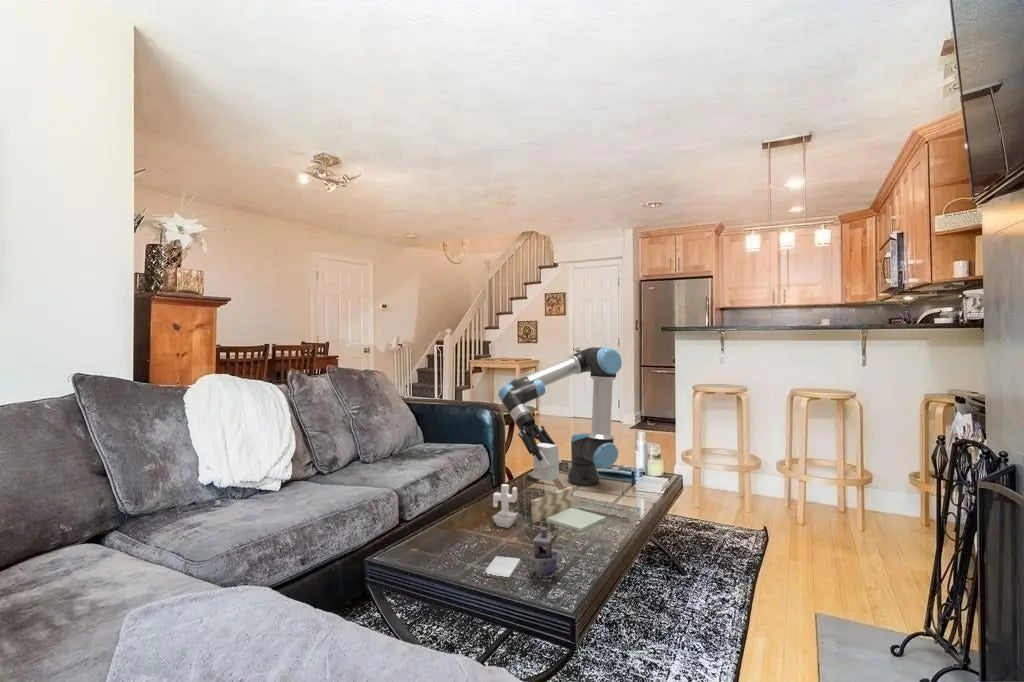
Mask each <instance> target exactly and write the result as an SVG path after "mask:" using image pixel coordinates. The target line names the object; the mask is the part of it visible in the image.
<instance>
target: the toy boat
mask: <svg viewBox="0 0 1024 682" xmlns="http://www.w3.org/2000/svg"><path fill="white" fill-rule="evenodd" d="M540 531H541V534H537V535H536V536H535V537H534V538H533V539H532V544H533V549H534V550H533V551H534V556H532V555H528V559H529V563H530V566H531V567H532V569H533V571H535V575H536V576H537V577H538V578H541V577H543V579H548V578H547V577H551V578H553V577H554V576H555V571H554V570H555V568H556V567H557V565H558V563H559V562H558V561H559V556H560V555H559V553H560V552H558V551H553V549H552V547H553V546H552V540H553V535H548V528H547V527H546V526H544V527H543V526H542V527H541V528H540ZM553 575H554V576H553ZM552 576H553V577H552Z"/></svg>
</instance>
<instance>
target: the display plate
mask: <svg viewBox="0 0 1024 682" xmlns="http://www.w3.org/2000/svg"><path fill="white" fill-rule="evenodd" d="M606 520H607V517H606V516H603V515H599V514H597V513H593V512H589V511H585V510H582V509H578V508H574V507H572V508H569V509H567V510H564V511H562V512H560V513H557V514H555V515H552V516H550V517H548V518H545V522H548V523H550V524H554V525H557V526H560V527H564V528H566V529H569V530H572V531H576V532H580V533H582V532H584V531H586V530H589V529H591V528H592V527H595V526H597V525H599V524H600V523H602V522H605V521H606Z"/></svg>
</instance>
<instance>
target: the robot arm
mask: <svg viewBox="0 0 1024 682" xmlns="http://www.w3.org/2000/svg"><path fill="white" fill-rule="evenodd" d="M622 362H623V361H622V357H621V355H620V353H619V352H618V350H616V349H614V348H613V347H612V348H611V347H607V346H605V347H594V346H593V347H588V348H585V349H582V350H580V351H578V352H576V353H574V354H571V355H569V356H568V358H566V359H565V360H562V361H560V362H557V363H555V364H552V365H550V366H548V367H545V368H543V369H540V370H538V371H535V372H533V373H531V374H528V375H526V376H524V377H521V378H518V379H517V378H515V379H511V380H509V382H508V383H507V384H506V385H504V386H502V387H501V388H500V390H498V397H499V399H500V401H501V403H502V404H503V406H504V407H505V408H506V409H505V410H507V412H508V414H509V415H510V416H511V418H512V419H513V421H514V423H515V426H516V427H518V429H519V432H518V433H517V435H518V436H519V438H520V439H521V441H522V442H523V445H524V446H525V447H526V450H527V452H528V453H529V454H530V455H532V456H534V455H536V457H537V459H538V460H539V461H540V462H541V464H542V465H543V467H544V469H546V468H547V467H548V466H549V465H550V464H549V462H548V461H547V459H546V458H545V456H544V455H543V453H542V452H541V451H539V449H538V446H537V444H538V443H537V441H536V440H538V441H539V442H540V443H547V444H553V445H556V442H554V441H553V439H552V437H551V436H550V435H549V434H548V431H546V429H545V426H544V425H541V426H538V425H537V424H536V419H535V417H534V416H533V414H532V413H531V411H530V410H529V408H528V407H527V405H526V404H527V403H529V402H530V401H534V400H536V399H538V398H541V397H542V396H544V395H545V394H546V386H548V385H550V384H553V383H555V382H558V381H560V380H562V379H565V378H567V377H571V376H573V375H574V374H575V375H580V374H582V373H590V376H589V377H590V378H591V379H592V380H593V382H592V383H593V385H592V386H593V387H592V410H591V411H592V412H591V432H589V433H588V432H586V433H584V432H583V433H582V432H581V433H575V434H572V436H570V437H571V439H570V444H571V445H570V447H571V448H570V451H571V452H570V453H571V455H570V456H571V457H570V458H571V462H570V463H571V465H570V468H569V472H568V476H567V483H569V484H572V485H575V486H582V487H589V486H596V485H598V484H600V483H601V482H600V481H601V478H600V475H599V471H598V468H602V469H607V468H610V467H612V466H613V465H614V464H615V463H616V461H617V460H618V456H619V450H618V447H617V446H616V445H615V443H614V440H615V439H614V436H613V435H612V433H611V427H612V405H613V404H612V403H613V381H614V380H615V379H617V373H619V371H620V370H621V369H622V365H623V364H622ZM560 463H562V460H561V458H560V457H559V464H560Z"/></svg>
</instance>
